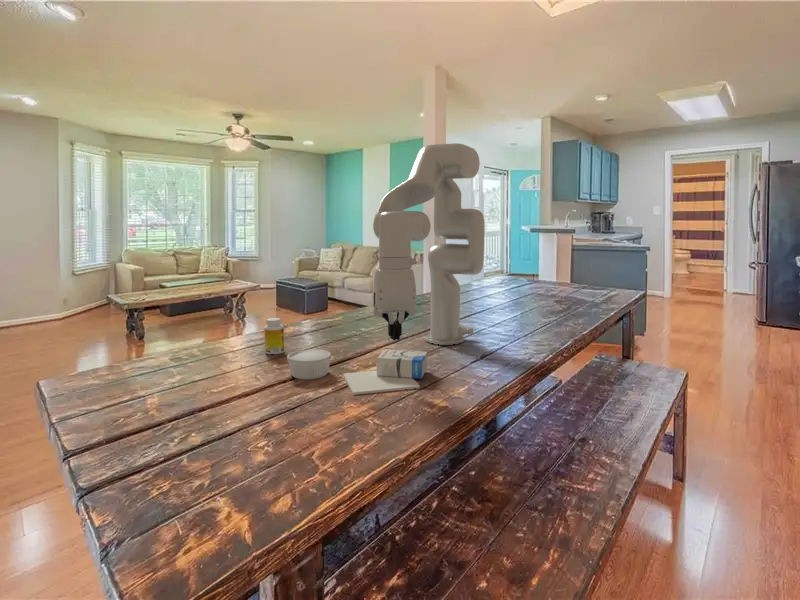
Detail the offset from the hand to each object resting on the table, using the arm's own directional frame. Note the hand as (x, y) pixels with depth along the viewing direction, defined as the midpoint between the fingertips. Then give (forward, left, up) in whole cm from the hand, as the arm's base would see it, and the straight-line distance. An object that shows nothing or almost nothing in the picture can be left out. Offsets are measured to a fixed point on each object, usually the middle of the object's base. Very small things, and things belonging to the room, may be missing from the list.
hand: (394, 338), depth 119 cm
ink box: (-8, -1, -8) cm, 11 cm away
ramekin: (+20, -11, -11) cm, 25 cm away
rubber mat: (+4, 0, -11) cm, 11 cm away
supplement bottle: (+28, -34, -11) cm, 45 cm away
